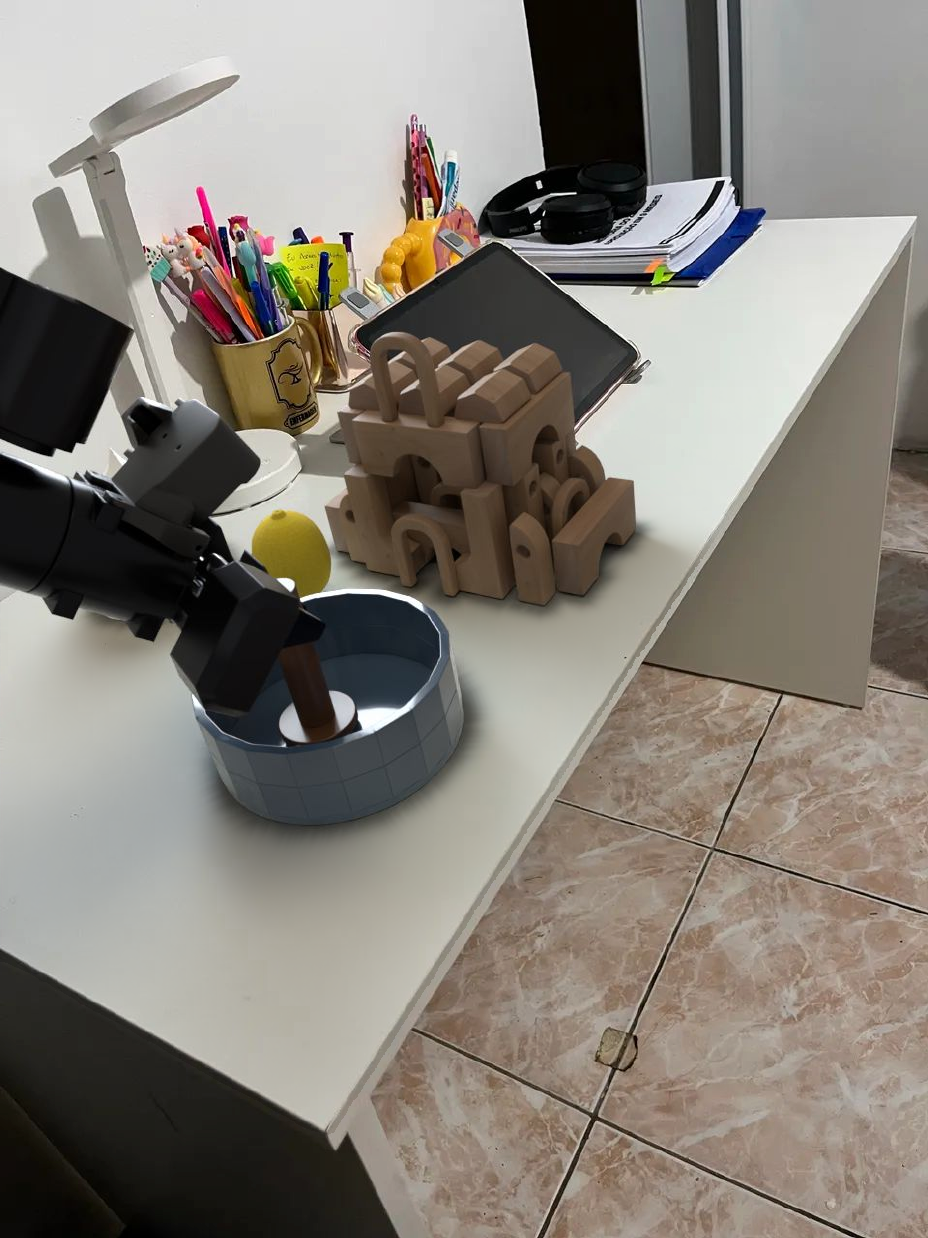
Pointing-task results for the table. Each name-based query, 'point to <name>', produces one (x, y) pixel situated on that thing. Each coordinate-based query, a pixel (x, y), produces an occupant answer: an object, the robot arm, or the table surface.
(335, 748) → the bowl
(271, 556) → the lemon
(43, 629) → the table surface
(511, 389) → the wooden puzzle
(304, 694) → the brown wooden peg
